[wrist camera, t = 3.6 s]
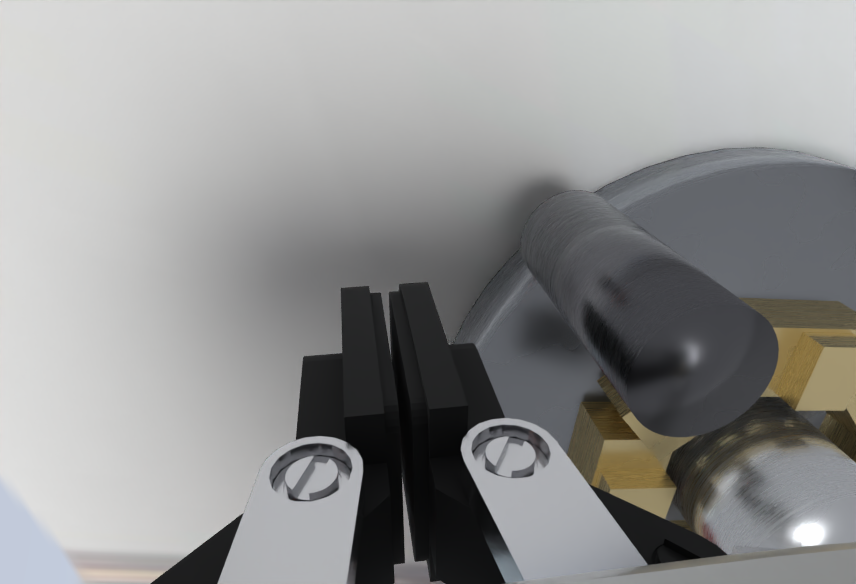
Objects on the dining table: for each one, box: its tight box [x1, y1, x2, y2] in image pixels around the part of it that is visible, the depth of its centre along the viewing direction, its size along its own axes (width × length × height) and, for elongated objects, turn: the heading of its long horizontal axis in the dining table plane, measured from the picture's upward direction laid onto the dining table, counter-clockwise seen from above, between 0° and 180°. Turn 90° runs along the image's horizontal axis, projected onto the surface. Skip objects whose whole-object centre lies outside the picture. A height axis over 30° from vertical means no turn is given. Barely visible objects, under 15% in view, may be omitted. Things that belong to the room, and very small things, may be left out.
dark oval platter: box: [453, 148, 856, 554], centre depth 17 cm, size 17×17×6 cm
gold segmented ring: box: [521, 190, 856, 532], centre depth 14 cm, size 15×10×6 cm, turn 39°
